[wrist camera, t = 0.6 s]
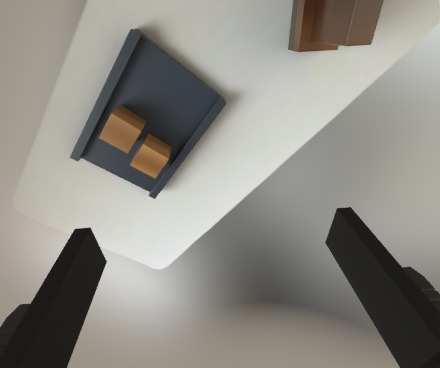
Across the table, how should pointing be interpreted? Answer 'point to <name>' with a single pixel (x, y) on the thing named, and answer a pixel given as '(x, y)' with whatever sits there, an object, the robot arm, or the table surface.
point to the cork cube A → (122, 129)
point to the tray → (149, 111)
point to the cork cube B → (151, 156)
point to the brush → (332, 24)
